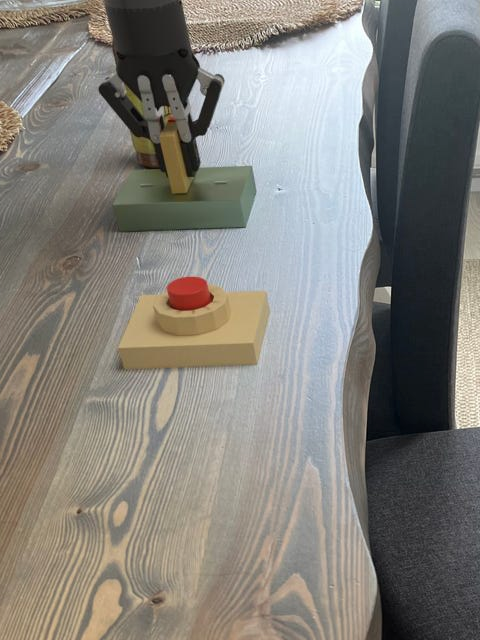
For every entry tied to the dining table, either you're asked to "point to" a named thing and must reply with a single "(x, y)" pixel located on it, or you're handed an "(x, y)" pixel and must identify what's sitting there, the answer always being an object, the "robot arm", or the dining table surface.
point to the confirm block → (196, 331)
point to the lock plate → (186, 200)
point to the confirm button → (188, 293)
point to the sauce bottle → (142, 144)
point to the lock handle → (174, 158)
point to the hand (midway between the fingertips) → (182, 174)
